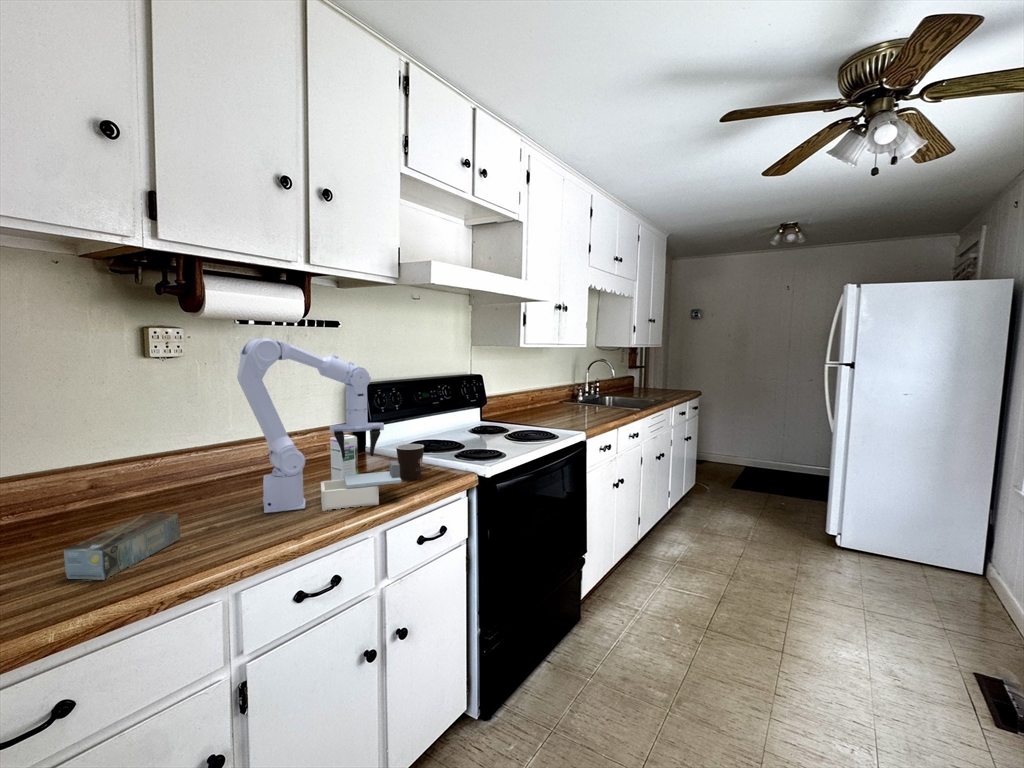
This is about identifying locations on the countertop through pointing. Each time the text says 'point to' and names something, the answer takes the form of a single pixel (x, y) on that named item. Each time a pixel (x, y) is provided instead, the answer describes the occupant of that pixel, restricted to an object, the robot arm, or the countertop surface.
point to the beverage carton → (121, 546)
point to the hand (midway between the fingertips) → (357, 456)
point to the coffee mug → (410, 460)
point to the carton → (347, 495)
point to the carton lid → (375, 477)
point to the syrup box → (344, 464)
